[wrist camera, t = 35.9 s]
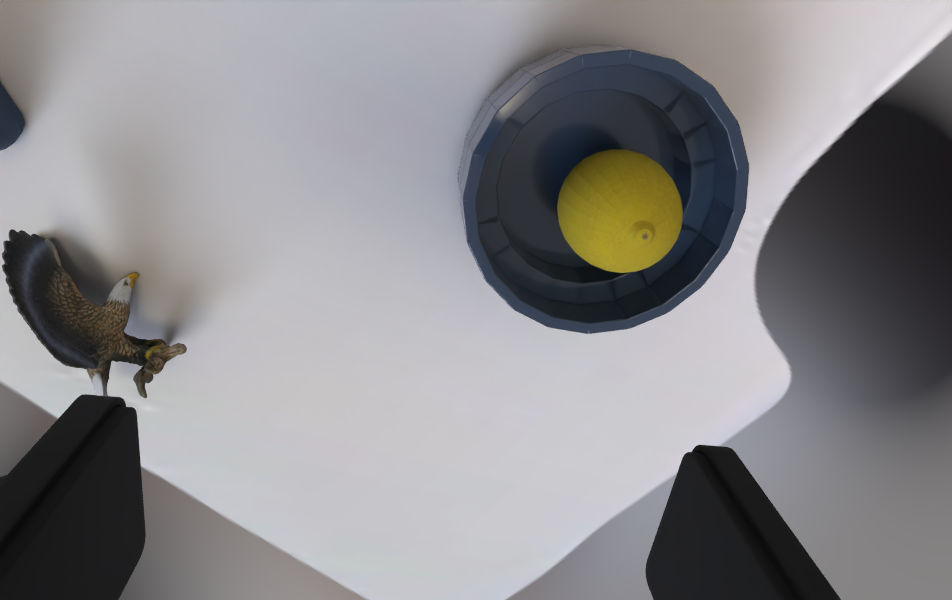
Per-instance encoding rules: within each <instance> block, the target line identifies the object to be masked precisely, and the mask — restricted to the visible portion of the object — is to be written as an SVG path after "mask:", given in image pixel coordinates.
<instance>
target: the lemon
mask: <svg viewBox="0 0 952 600" xmlns="http://www.w3.org/2000/svg"><path fill="white" fill-rule="evenodd" d="M557 211H558V220H559V225H560V228H561V230H562V233H563V235H564V238H565V240H566V241H567V242H568V244H569V245H570V246H571V248H572V249H573V250H574V252H575V253H576V254H578V255H579V256H580V257H581V258H583V259H584V260H585V261H587V262H588V263H590V264H591V265H594V266H596V267H599V268H601V269H603V270H606V271H610V272H618V273H627V272H635V271H639V270H642V269H645V268H648V267H650V266H652V265H653V264H655V263H656V262H658V261H660V260H661V259H662V258H663V257H664V256H665V255H666V254H667V253H668V252H669V251H670V250H671V248H672V247H673V245H674V244H675V242H676V241H677V238H678V236H679V233H680V230H681V226H682V217H683V210H682V203H681V197H680V194H679V192H678V190H677V188H676V185H675V183H674V181H673V179H672V178H671V177H670V176H669V174H668V173H667V172H666V171H665V170H664V169H663V168H662V166H661V165H660V164H658V163H657V162H655V161H654V160H652V159H651V158H649V157H647V156H646V155H644V154H641V153H637V152H634V151H631V150H624V149H610V150H606V151H602V152H597V153H595V154H593V155H591V156H589V157H587V158H585V159H583V160H582V161H581V162H580V163H578V164H577V165H576V166H575V167H574V168H573V169H572V170H571V172H570V173H569V174H568V176H567V177H566V178H565V180H564V183H563V185H562V187H561V190H560V192H559V198H558V204H557Z"/></svg>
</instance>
